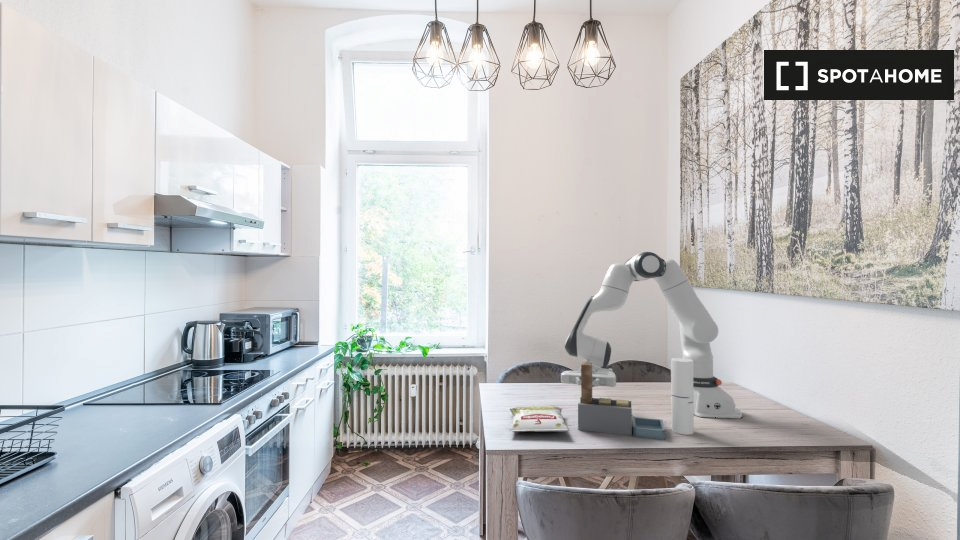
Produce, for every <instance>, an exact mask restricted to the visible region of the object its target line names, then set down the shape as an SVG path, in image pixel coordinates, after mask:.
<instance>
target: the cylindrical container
mask: <svg viewBox="0 0 960 540" xmlns="http://www.w3.org/2000/svg"><path fill="white" fill-rule="evenodd" d="M670 410H671V411H670V412H671V413H670V414H671V415H670V416H671V417H670V418H671V419H670V420H671V421H670V424H671V426H670V427H671V429H670V430H671V431H672V432H674V433H676V434H680V435H687V436H688V435H689V436H690V435H694V431H695V430H694V429H695V428H694V426H695V425H694V424H695V423H694V408H693V360H691V359H686V358H683V357H673V358H670Z"/></svg>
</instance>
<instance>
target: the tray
mask: <svg viewBox="0 0 960 540" xmlns="http://www.w3.org/2000/svg"><path fill="white" fill-rule="evenodd" d="M638 417H639V416H638ZM638 417H634V416H632V436H633V437H635V438H642V439H643V438H645V439H652V440H662V441H665V440H666V428H665V425H664V421H663V419H660V418H658V419H657V418H656V419H655V418H648V417H647V418H646V417H639V418H638Z"/></svg>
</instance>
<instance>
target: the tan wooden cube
mask: <svg viewBox="0 0 960 540" xmlns="http://www.w3.org/2000/svg"><path fill="white" fill-rule="evenodd" d="M616 400H617V407H629V404H628V401H629V400H628V399H627V400H626V399H616Z"/></svg>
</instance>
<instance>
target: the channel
mask: <svg viewBox="0 0 960 540" xmlns="http://www.w3.org/2000/svg"><path fill="white" fill-rule="evenodd" d="M599 398H600V397H599ZM599 398H598V397H597V398H596V397H592V404H583V403H581V397H579V399H580V400H579V402H578V404H577V430H578V431H587V432H596V433H597V432H598V433H606V434H614V435H615V434H616V435H624V436H633V416H632V414H633V410H632V400H628V404H629V407H617V399H611V398H610V399H611V406H606V405H599Z"/></svg>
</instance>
